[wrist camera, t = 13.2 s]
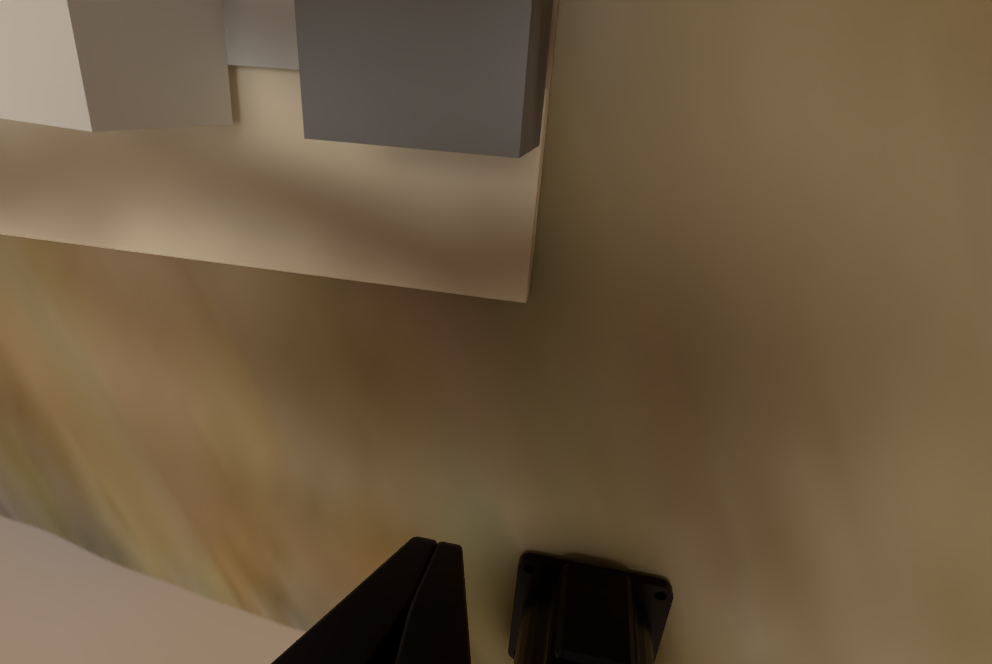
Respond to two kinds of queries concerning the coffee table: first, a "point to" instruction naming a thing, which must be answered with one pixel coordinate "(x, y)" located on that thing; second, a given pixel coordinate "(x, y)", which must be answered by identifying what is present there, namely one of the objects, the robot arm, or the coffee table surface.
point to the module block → (114, 64)
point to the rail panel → (325, 151)
